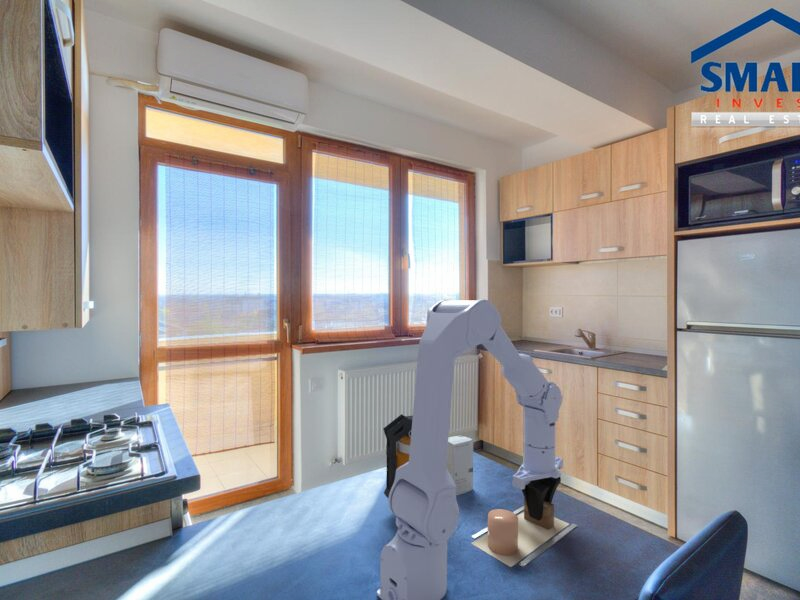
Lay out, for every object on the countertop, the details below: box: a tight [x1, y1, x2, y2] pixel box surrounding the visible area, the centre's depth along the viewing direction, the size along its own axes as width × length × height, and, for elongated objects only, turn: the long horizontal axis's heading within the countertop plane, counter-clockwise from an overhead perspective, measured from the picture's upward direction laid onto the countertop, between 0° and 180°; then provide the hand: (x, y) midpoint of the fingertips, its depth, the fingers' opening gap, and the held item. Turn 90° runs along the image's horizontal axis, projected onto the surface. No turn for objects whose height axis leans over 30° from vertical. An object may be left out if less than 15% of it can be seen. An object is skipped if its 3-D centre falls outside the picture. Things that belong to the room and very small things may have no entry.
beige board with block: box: [470, 497, 570, 568], centre depth 71 cm, size 19×8×5 cm, turn 130°
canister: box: [382, 413, 413, 499], centre depth 79 cm, size 9×11×20 cm
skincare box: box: [446, 434, 474, 496], centre depth 88 cm, size 6×4×12 cm
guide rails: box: [470, 505, 578, 568], centre depth 72 cm, size 18×10×1 cm, turn 130°
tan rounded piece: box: [487, 508, 518, 556], centre depth 68 cm, size 5×5×5 cm
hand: (538, 515), depth 75 cm, fingers closed on beige board with block, 2 cm apart
